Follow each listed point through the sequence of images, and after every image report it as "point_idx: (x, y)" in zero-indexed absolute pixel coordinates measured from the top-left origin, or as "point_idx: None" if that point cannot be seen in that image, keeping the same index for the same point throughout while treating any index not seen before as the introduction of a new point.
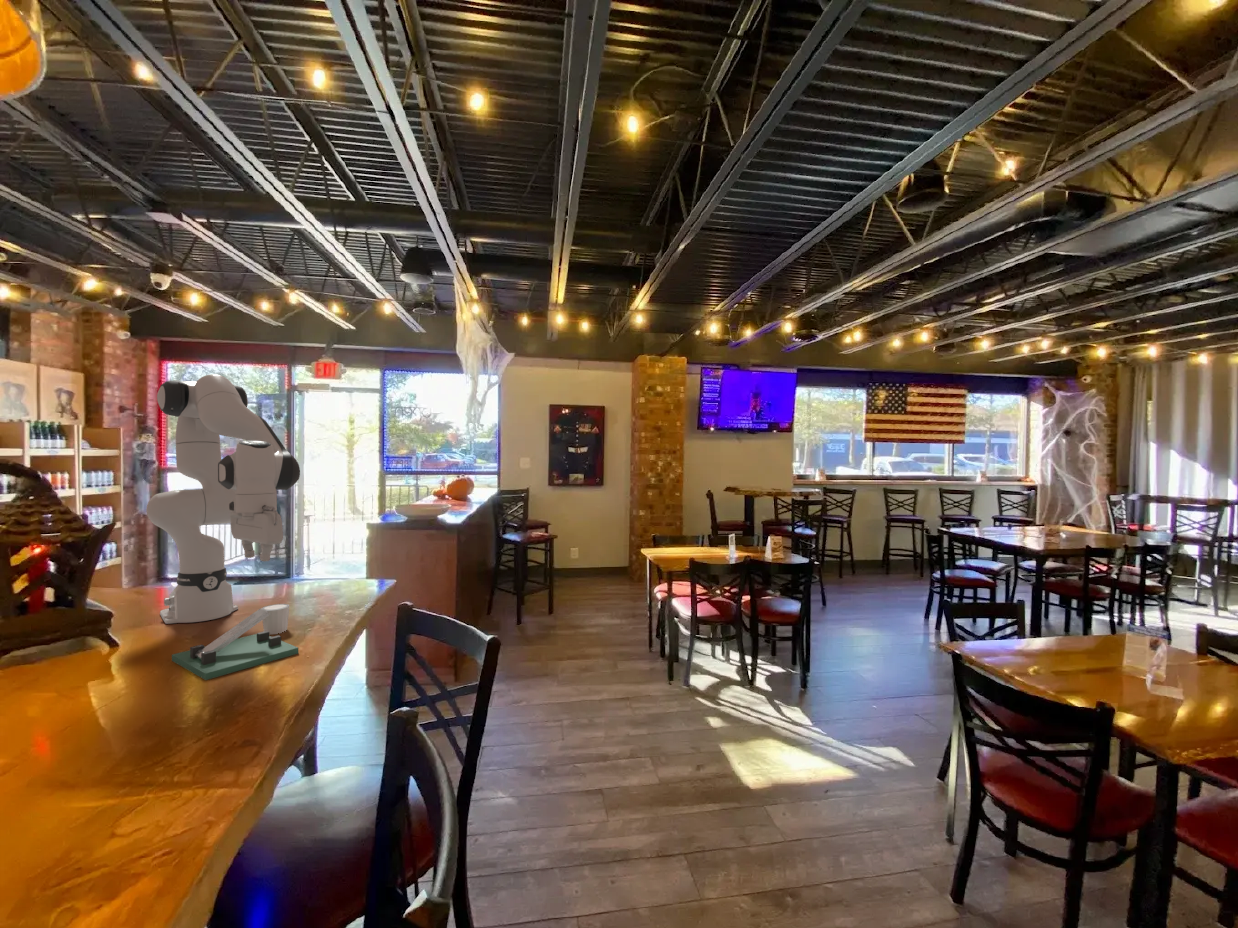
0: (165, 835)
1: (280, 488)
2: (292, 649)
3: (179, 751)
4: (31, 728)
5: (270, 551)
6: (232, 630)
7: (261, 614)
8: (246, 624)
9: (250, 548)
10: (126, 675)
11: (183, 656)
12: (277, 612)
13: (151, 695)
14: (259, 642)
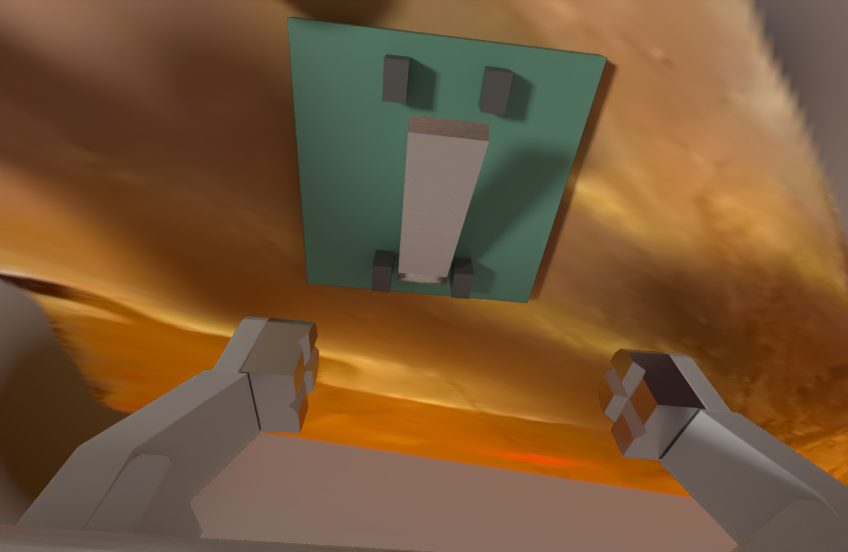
0: None
1: None
2: (598, 81)
3: (745, 411)
4: (466, 452)
5: (773, 443)
6: (422, 225)
7: (475, 160)
8: (457, 204)
9: (228, 410)
10: (338, 346)
11: (350, 276)
12: None
13: (500, 362)
14: (412, 100)
